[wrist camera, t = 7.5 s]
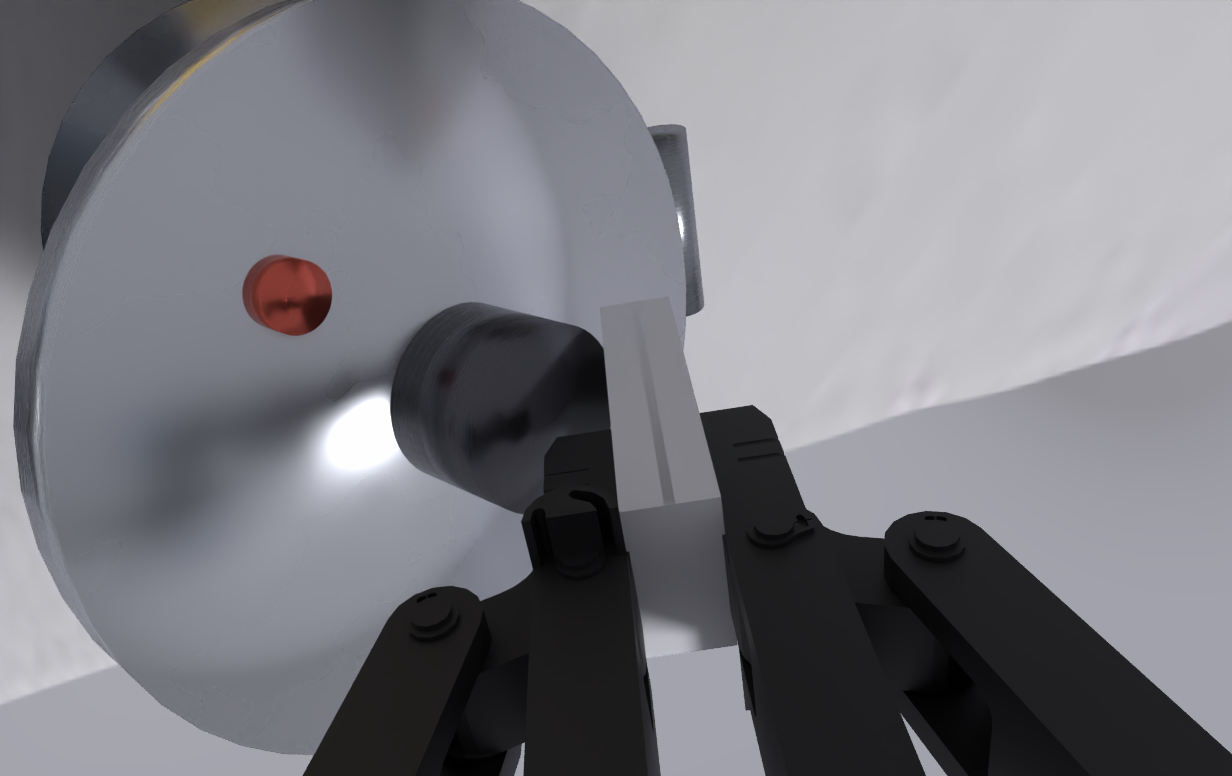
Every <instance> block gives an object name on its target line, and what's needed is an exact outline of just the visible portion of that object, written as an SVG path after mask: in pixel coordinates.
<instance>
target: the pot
mask: <svg viewBox="0 0 1232 776" xmlns="http://www.w3.org/2000/svg"><path fill="white" fill-rule="evenodd" d="M282 1H285V0H193V1H190V2H188V3H185V4H183V5H180V6H178V7H176V8H173V9H171V10H170V11H168V12H166V13H165V14H163V15H161V16H160V17H158V18H157V19H155V20H153V21H152V22H150V23H148V24H147V25H145V26H144V27H142V28H140V29H139V30H137V31H136V32H135V33H133V34H132V35H131V36H130V37H129V38H128V39H127V40H125V41H124V42H123V43H122V44H121V45H120V46H119V47H117V48H116V49H115V50H114V51H113V52H112V53H110V54H109V55H108V56H107V57H106V58H105V59H104V60H103V62H102V63H101V64H100V65H99V67H98V68H97V69H96V70H95V71H94V73H93V74H92V75H91V76H90V78H89V79H88V80H87V81H86V82H85V84H84V85H83V86H82V87H81V89H80V91H79V92H78V94H77V96H76V98H75V99H74V101H73V103H72V105H71V106H70V108H69V110H68V112H67V113H66V115H65V117H64V119H63V120H62V123H61V125H60V128H59V131H58V134H57V136H56V139H55V142H54V144H53V147H52V150H51V153H50V155H49V159H48V165H47V170H46V175H45V181H44V186H43V191H42V212H41V235H42V244H43V251H44V248H45V246H46V243H47V240H48V237H49V234H50V231H51V229H52V226H53V225H54V223H55V221H56V219H57V217H58V215H59V213H60V211H61V209H62V207H63V205H64V204H65V202H66V200H67V198H68V196H69V194H70V192H71V190H72V188H73V186H74V185H75V183H76V181H77V179H78V177H79V175H80V173H81V171H82V169H83V167H84V166H85V165H86V163H87V162H88V161H89V159H90V158H91V156H92V155H93V154H94V152H95V151H96V150H97V148H98V147H99V145H100V144H101V143H102V141H103V140H104V139H105V137H106V136H107V134H108V133H109V132H110V130H111V129H112V128H113V126H114V125H115V123H116V122H117V121H118V119H119V118H120V117H121V115H122V114H123V113H124V112H125V111H126V110H127V109H128V108H129V107H130V106H131V105H132V104H133V103H134V102H135V101H136V100H137V99H138V98H139V97H140V96H141V95H142V94H143V93H144V92H145V91H146V90H147V89H148V88H149V87H150V86H151V85H152V84H153V82H154V81H155V80H156V79H157V78H158V77H159V76H160V75H161V74H162V73H163V72H164V71H165V70H166V69H167V68H169V67H170V66H171V65H173V64H174V63H175V62H177V61H178V60H179V59H181V58H182V57H184V56H185V55H186V54H188V53H189V52H190V51H192V50H193V49H194V48H196V47H197V46H198V45H200V44H201V43H202V42H204V41H205V40H207V39H208V38H209V37H211V36H212V35H213V34H215V33H216V32H218V31H220V30H222V29H224V28H226V27H228V26H230V25H232V24H233V23H235V22H237V21H239V20H241V19H243V18H245V17H247V16H249V15H251V14H253V13H255V12H257V11H259V10H261V9H263V8H264V7H267V6H270V5H273V4H276V3H279V2H282ZM517 1H519V2H521V1H520V0H517ZM521 3H522V2H521ZM648 130H649V132H650V134H651V136H652V138H653V140H654V142H655V144H656V147H657V150H658V152H659V155H660V158H661V160H662V163H663V166H664V169H665V171H666V174H667V177H668V179H669V183H670V187H671V191H672V195H673V199H674V203H675V207H676V210H677V214H678V220H679V226H680V232H681V239H682V245H683V251H684V265H685V279H686V316H690V315H693V314H695V313H697V312H699V311H700V310H702V308H703V307H704V297H703V287H702V278H701V268H700V259H699V249H698V240H697V230H696V220H695V211H694V201H693V192H692V182H691V173H690V163H689V154H688V144H687V135H686V128H685V127H684V126H681V125H672V124H671V125H658V126H652V127H648Z"/></svg>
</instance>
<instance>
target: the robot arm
mask: <svg viewBox="0 0 1232 776" xmlns="http://www.w3.org/2000/svg"><path fill="white" fill-rule="evenodd" d="M600 314H601V325H602V336H603V346H604V357H605V368H606V379H607V390H608V401H609V411H610V422H611V429H608V430H601V431H595V432H588V433H582V434H575V435H569V436H562V437H557V438H556V439H555V441H554V442H553V444H552V445H551V447H550V448H549V450H548V451H547V453H546V454H545V456H544V483H543V492H544V495H542V496H540V497H538V498H537V499H535V500H534V501H533V502H532V503H531V504H530V505H529V506H528V507H527V509H526V510H525V512H524V515H523V517H522V520H521V524H522V528H523V532H524V536H525V540H526V544H527V548H528V552H529V556H530V560H531V564H532V568H533V571H532V572H531V573H530V574H529V575H528V576H527V577H526V578H525V579H524V580H522V581H521V582H520V583H518V584H517V585H516V586H514V587H512V588H510V589H508V590H506V591H504V592H502V593H499V594H497V595H494V596H492V597H489V598H487V599H484V600H482V601H480V600H479V598H478V596H477V595H475V594H474V593H472V592H471V591H469V590H468V589H466V588H461V587H455V586H443V587H435V588H430V589H428V590H425V591H423V592H420V593H417V594H415V595H413V596H412V597H410V598H409V599H407V600H406V601H405V602H403V603H402V604H400V605H399V606H398V607H397V608H396V610H395V611H394V612H393V613H392V615H391V616H390V617H389V618H388V620H387V622H386V624H385V625H384V627H383V629H382V631H381V633H380V635H379V636H378V638H377V640H376V642H375V644H374V646H373V647H372V649H371V651H370V653H369V655H368V657H367V658H366V660H365V662H364V664H363V666H362V668H361V669H360V671H359V673H358V675H357V677H356V679H355V680H354V682H353V684H352V686H351V688H350V690H349V691H348V693H347V695H346V697H345V699H344V701H343V702H342V704H341V706H340V708H339V710H338V712H337V713H336V715H335V717H334V719H333V721H332V723H331V725H330V726H329V728H328V730H327V732H326V734H325V736H324V737H323V739H322V741H321V743H320V745H319V747H318V748H317V750H316V752H315V754H314V756H313V758H312V760H311V761H310V763H309V765H308V767H307V769H306V771H305V772H304V774H303V776H514V774H515V771H516V768H517V765H518V762H519V758H520V755H521V746H522V743H524V742H525V755H524V776H661V774H660V765H659V756H658V748H657V737H656V728H655V719H654V710H653V700H652V691H651V685H650V679H649V673H648V668H647V662H646V659H647V658H653V657H660V656H667V655H674V654H681V653H687V652H694V651H700V650H707V649H714V648H721V647H727V646H734V645H737V641H738V645H739V651H740V652H739V653H740V662H741V671H742V680H743V690H744V699H745V708H746V710H750V711H751V715H752V720H753V724H754V728H755V732H756V736H757V741H758V745H759V749H760V754H761V758H762V762H763V767H764V771H765V775H766V776H926V775H925V772H924V770H923V767H922V765H921V763H920V760H919V758H918V755H917V753H916V750H915V748H914V746H913V743H912V741H911V738H910V736H909V733H908V731H907V729H906V726H905V724H904V721H903V719H902V716H903V717H904V718H905V719H906V721H907V722H908V724H909V725H910V726H911V727H912V729H913V730H914V732H915V733H916V734H917V736H918V737H919V738H920V740H921V741H922V742H923V744H924V745H925V746H926V748H927V749H928V750H929V752H930V753H931V754H932V756H933V757H934V758H935V760H936V761H937V762H938V764H939V765H940V766H941V768H942V769H943V770H944V772H945V773H946V774H947V775H948V776H1232V754H1231V753H1230V752H1229V751H1228V750H1227V749H1225V748H1224V747H1223V746H1222V745H1221V744H1220V743H1219V742H1218V741H1217V740H1215V739H1214V738H1213V737H1212V736H1211V735H1210V734H1209V733H1208V732H1207V731H1205V730H1204V729H1203V728H1202V727H1201V726H1200V725H1199V724H1198V723H1197V722H1196V721H1194V720H1193V719H1192V718H1191V717H1190V716H1189V715H1188V714H1187V713H1186V712H1184V711H1183V710H1182V709H1181V708H1180V707H1179V706H1178V705H1177V704H1176V703H1174V702H1173V701H1172V700H1171V699H1170V698H1169V697H1168V696H1167V695H1166V694H1164V693H1163V692H1162V691H1161V690H1160V689H1159V688H1158V687H1157V686H1156V685H1155V684H1153V683H1152V682H1151V681H1150V680H1149V679H1148V678H1146V677H1145V675H1143V674H1142V673H1141V672H1140V671H1139V670H1138V669H1137V668H1136V667H1135V666H1133V665H1132V664H1131V663H1130V662H1129V661H1128V660H1127V659H1126V658H1125V657H1123V656H1122V655H1121V654H1120V653H1119V652H1118V651H1116V649H1115V648H1114V647H1112V646H1111V645H1110V644H1109V643H1108V642H1107V641H1106V640H1105V639H1103V638H1102V637H1101V636H1100V635H1099V634H1098V633H1097V632H1096V631H1095V630H1094V629H1092V628H1091V627H1090V626H1089V625H1088V624H1087V623H1086V622H1085V621H1084V620H1082V619H1081V618H1080V617H1079V616H1078V615H1077V614H1076V613H1075V612H1074V611H1072V610H1071V609H1070V608H1069V607H1068V606H1067V605H1066V604H1065V603H1064V602H1062V601H1061V600H1060V599H1059V598H1058V597H1057V596H1056V595H1055V594H1054V593H1052V592H1051V591H1050V590H1049V589H1048V588H1047V587H1046V586H1045V585H1044V584H1043V583H1041V582H1040V581H1039V580H1038V579H1037V578H1036V577H1035V576H1034V575H1033V574H1031V573H1030V572H1029V571H1028V570H1027V569H1026V568H1025V567H1024V566H1023V565H1021V564H1020V563H1019V562H1018V561H1017V560H1016V559H1015V558H1014V557H1013V556H1012V555H1010V554H1009V553H1008V552H1007V551H1006V550H1005V549H1004V548H1003V547H1001V546H1000V545H999V544H998V543H997V542H996V541H995V540H994V539H993V538H992V537H990V536H989V535H988V534H987V533H986V532H985V531H984V530H983V529H982V528H980V527H979V526H977V525H976V524H974V523H972V522H971V521H969V520H968V519H966V518H963V517H960V516H957V515H953V514H950V513H947V512H933V511H924V512H918V513H913V514H908V515H906V516H904V517H902V518H900V519H898V520H896V521H894V522H893V523H892V525H891V526H890V527H889V528H888V530H887V531H886V532H885V539H882V538H869V537H858V536H851V535H845V534H841V533H838V532H835V531H832V530H830V529H828V528H826V527H824V526H823V525H822V523H821V522H820V521H819V519H818V518H817V517H816V516H815V514H814V513H812V512H810V511H808V510H807V509H806V508H805V505H804V503H803V500H802V498H801V495H800V492H799V490H798V487H797V485H796V482H795V479H794V477H793V474H792V472H791V469H790V467H789V464H788V462H787V459H786V456H784V451H783V449H782V446H781V444H780V441H779V440H778V436H777V433H776V431H775V428H774V426H773V423H772V420H771V419H770V418H769V417H768V416H766V415H765V414H764V413H762V412H761V411H760V410H758V409H757V408H756V407H755V406H753V405H750V406H743V407H737V408H730V409H724V410H717V411H711V412H704V413H699V410H698V406H697V403H696V399H695V395H694V391H693V387H692V383H691V380H690V376H689V372H688V368H687V364H686V360H685V357H684V353H683V349H682V345H681V341H680V337H679V334H678V330H677V326H676V322H675V318H674V314H673V311H672V307H671V303H670V299H669V296H667V297H660V298H654V299H648V300H641V301H635V302H629V303H622V304H616V305H610V306H603V307H600ZM900 713H901V714H902V716H901V714H900Z"/></svg>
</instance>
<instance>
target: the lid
mask: <svg viewBox="0 0 1232 776" xmlns="http://www.w3.org/2000/svg"><path fill="white" fill-rule="evenodd" d="M667 296H669V299H670V303H671V307H672V311H673V314H674V318H675V322H676V326H677V330H678V334H679V337H680V341H681V345H682V349H683V350H684V339H685V327H686V279H685V265H684V251H683V245H682V239H681V232H680V226H679V220H678V214H677V210H676V207H675V203H674V199H673V195H672V191H671V187H670V183H669V179H668V177H667V174H666V171H665V169H664V166H663V163H662V160H661V158H660V155H659V152H658V150H657V147H656V144H655V142H654V140H653V138H652V136H651V134H650V132H649V130H648V128H647V126H646V124H645V122H644V120H643V118H642V116H641V114H640V112H639V111H638V109H637V108H636V106H635V105H634V103H633V102H632V100H631V99H630V97H629V96H628V94H627V93H626V91H625V89H624V88H623V86H622V85H621V83H620V82H619V81H618V79H617V78H616V77H615V76H614V75H613V74H612V72H611V71H610V70H609V69H608V68H607V67H606V66H605V64H604V63H603V62H602V61H601V60H600V59H599V57H598V56H597V55H596V54H595V53H594V52H593V51H592V50H591V49H590V48H588V47H587V46H586V45H585V44H584V43H583V42H581V41H580V40H579V39H578V38H577V37H576V36H575V35H573V34H572V33H571V32H570V31H569V30H568V29H566V28H565V27H564V26H562V25H560V24H559V23H557V22H556V21H554V20H552V19H551V18H549V17H548V16H546V15H544V14H543V13H541V12H540V11H538V10H536V9H535V8H533V7H531V6H529V5H526V4H524V3H521V2H519V1H517V0H285V1H282V2H279V3H276V4H273V5H270V6H267V7H264V8H263V9H261V10H259V11H257V12H255V13H253V14H251V15H249V16H247V17H245V18H243V19H241V20H239V21H237V22H235V23H233V24H232V25H230V26H228V27H226V28H224V29H222V30H220V31H218V32H216V33H215V34H213V35H212V36H211V37H209V38H208V39H207V40H205V41H204V42H202V43H201V44H200V45H198V46H197V47H196V48H194V49H193V50H192V51H190V52H189V53H188V54H186V55H185V56H184V57H182V58H181V59H179V60H178V61H177V62H175V63H174V64H173V65H171V66H170V67H169V68H167V69H166V70H165V71H164V72H163V73H162V74H161V75H160V76H159V77H158V78H157V79H156V80H155V81H154V82H153V84H152V85H151V86H150V87H149V88H148V89H147V90H146V91H145V92H144V93H143V94H142V95H141V96H140V97H139V98H138V99H137V100H136V101H135V102H134V103H133V104H132V105H131V106H130V107H129V108H128V109H127V110H126V111H125V112H124V113H123V114H122V115H121V117H120V118H119V119H118V121H117V122H116V123H115V125H114V126H113V128H112V129H111V130H110V132H109V133H108V134H107V136H106V137H105V139H104V140H103V141H102V143H101V144H100V145H99V147H98V148H97V150H96V151H95V152H94V154H93V155H92V156H91V158H90V159H89V161H88V162H87V163H86V165H85V166H84V167H83V169H82V171H81V173H80V175H79V177H78V179H77V181H76V183H75V185H74V186H73V188H72V190H71V192H70V194H69V196H68V198H67V200H66V202H65V204H64V205H63V207H62V209H61V211H60V213H59V215H58V217H57V219H56V221H55V223H54V225H53V226H52V229H51V231H50V234H49V237H48V240H47V243H46V246H45V248H44V251H43V254H42V257H41V260H40V263H39V266H38V268H37V271H36V274H35V277H34V280H33V283H32V286H31V288H30V291H29V295H28V300H27V305H26V311H25V316H24V321H23V326H22V331H21V337H20V342H19V347H18V352H17V358H16V372H15V399H14V425H13V427H14V436H15V444H16V453H17V461H18V469H19V478H20V486H21V492H22V495H23V499H24V502H25V506H26V509H27V513H28V516H29V519H30V523H31V526H32V530H33V533H34V537H35V540H36V544H37V547H38V549H39V551H40V553H41V555H42V557H43V559H44V562H45V564H46V566H47V568H48V570H49V572H50V574H51V576H52V578H53V580H54V582H55V584H56V586H57V588H58V590H59V592H60V594H61V596H62V598H63V600H64V601H65V602H66V604H67V605H68V606H69V608H70V609H71V611H72V612H73V613H74V615H75V616H76V617H77V619H78V620H79V622H80V623H81V624H82V626H83V627H84V628H85V630H86V631H87V632H88V634H89V635H90V637H91V638H92V639H93V641H95V642H96V643H97V644H98V645H99V646H100V647H101V648H102V649H103V650H104V651H105V652H106V653H107V654H108V655H109V656H110V657H111V658H112V659H113V660H115V661H116V662H117V663H118V664H119V665H120V666H121V667H122V668H123V669H124V670H125V671H126V672H127V673H128V674H129V675H130V676H132V678H134V679H135V680H136V681H137V682H138V683H139V684H140V685H141V686H142V687H143V688H144V689H145V690H146V691H147V692H149V694H151V695H152V696H153V697H154V698H155V699H156V700H157V701H158V702H159V703H160V704H161V705H163V706H164V707H166V708H167V709H169V710H170V711H172V712H174V713H175V714H177V715H178V716H180V717H182V718H183V719H185V720H186V721H188V722H189V723H191V724H193V725H194V726H196V727H197V728H199V729H201V730H203V731H205V732H208V733H210V734H213V735H216V736H218V737H221V738H223V739H226V740H228V741H231V742H234V743H236V744H238V745H242V746H245V747H250V748H255V749H260V750H265V751H270V752H276V753H281V754H302V755H314V754H315V752H316V750H317V748H318V747H319V745H320V743H321V741H322V739H323V737H324V736H325V734H326V732H327V730H328V728H329V726H330V725H331V723H332V721H333V719H334V717H335V715H336V713H337V712H338V710H339V708H340V706H341V704H342V702H343V701H344V699H345V697H346V695H347V693H348V691H349V690H350V688H351V686H352V684H353V682H354V680H355V679H356V677H357V675H358V673H359V671H360V669H361V668H362V666H363V664H364V662H365V660H366V658H367V657H368V655H369V653H370V651H371V649H372V647H373V646H374V644H375V642H376V640H377V638H378V636H379V635H380V633H381V631H382V629H383V627H384V625H385V624H386V622H387V620H388V618H389V617H390V616H391V615H392V613H393V612H394V611H395V610H396V608H397V607H398V606H399V605H400V604H402V603H403V602H405V601H406V600H407V599H409V598H410V597H412V596H413V595H415V594H417V593H420V592H423V591H425V590H428V589H430V588H435V587H443V586H455V587H461V588H466V589H468V590H469V591H471V592H472V593H474V594H475V595H477V596H478V598H479V600H480V601H482V600H484V599H487V598H489V597H492V596H494V595H497V594H499V593H502V592H504V591H506V590H508V589H510V588H512V587H514V586H516V585H517V584H518V583H520V582H521V581H522V580H524V579H525V578H526V577H527V576H528V575H529V574H530V573H531V572H532V571H533V568H532V564H531V560H530V556H529V552H528V548H527V544H526V540H525V536H524V532H523V528H522V524H521V520H522V517H523V515H524V512H525V510H526V509H527V507H528V506H529V505H530V504H531V503H532V502H533V501H534V500H535V499H537V498H538V497H540V496H542V495H544V492H543V483H544V456H545V454H546V453H547V451H548V450H549V448H550V447H551V445H552V444H553V442H554V441H555V439H556V438H557V437H562V436H569V435H575V434H582V433H588V432H595V431H601V430H608V429H611V422H610V411H609V401H608V390H607V379H606V368H605V357H604V346H603V336H602V325H601V314H600V307H603V306H610V305H616V304H622V303H629V302H635V301H641V300H648V299H654V298H660V297H667Z"/></svg>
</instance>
